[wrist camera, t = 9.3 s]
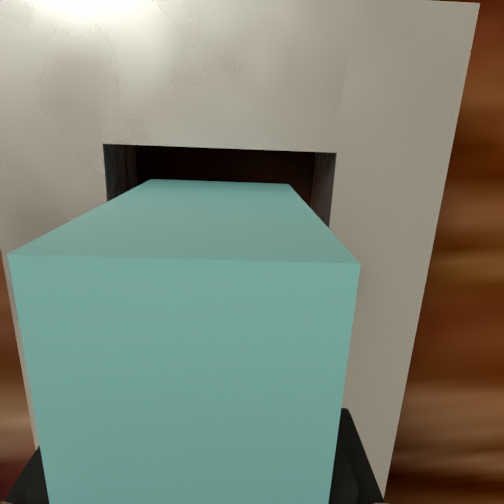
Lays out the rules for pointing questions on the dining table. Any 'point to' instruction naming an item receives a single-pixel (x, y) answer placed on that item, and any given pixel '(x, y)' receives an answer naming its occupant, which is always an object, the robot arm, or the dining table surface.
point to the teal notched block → (188, 346)
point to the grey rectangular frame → (249, 134)
